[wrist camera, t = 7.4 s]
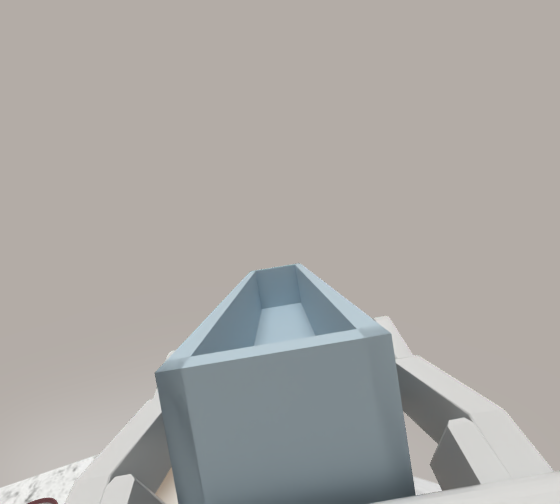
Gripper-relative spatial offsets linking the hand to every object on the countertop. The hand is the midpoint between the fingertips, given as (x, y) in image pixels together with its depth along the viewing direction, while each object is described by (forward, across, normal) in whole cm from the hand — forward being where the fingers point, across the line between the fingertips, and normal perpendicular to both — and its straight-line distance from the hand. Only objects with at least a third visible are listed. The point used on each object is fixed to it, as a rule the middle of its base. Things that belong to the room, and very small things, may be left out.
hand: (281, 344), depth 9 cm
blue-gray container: (+3, 0, +4) cm, 5 cm away
